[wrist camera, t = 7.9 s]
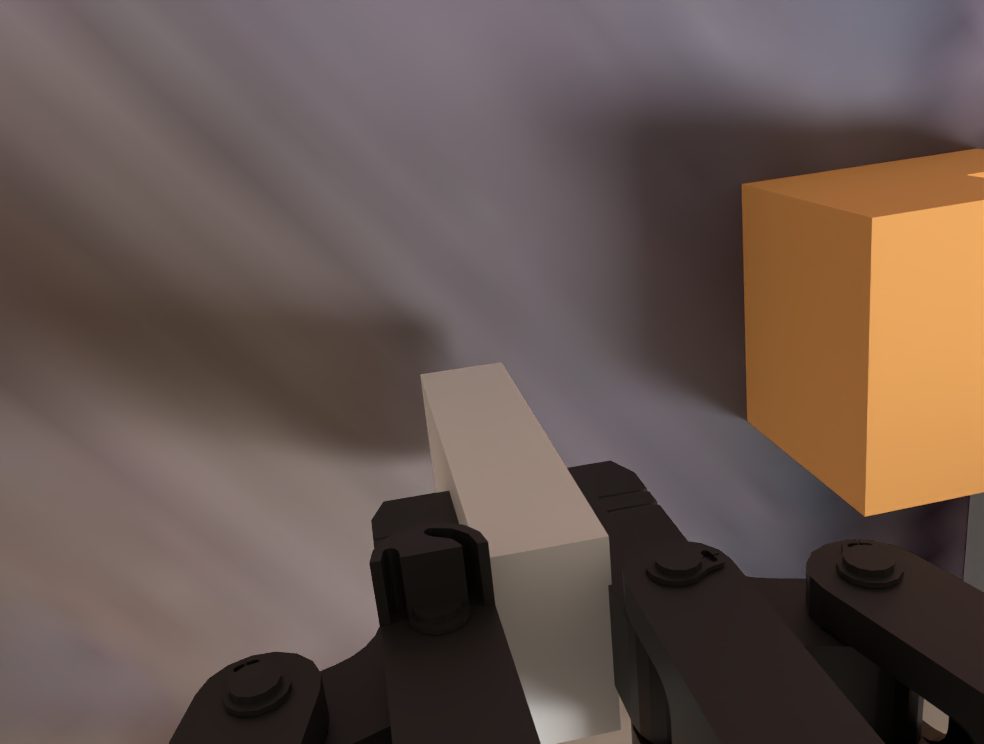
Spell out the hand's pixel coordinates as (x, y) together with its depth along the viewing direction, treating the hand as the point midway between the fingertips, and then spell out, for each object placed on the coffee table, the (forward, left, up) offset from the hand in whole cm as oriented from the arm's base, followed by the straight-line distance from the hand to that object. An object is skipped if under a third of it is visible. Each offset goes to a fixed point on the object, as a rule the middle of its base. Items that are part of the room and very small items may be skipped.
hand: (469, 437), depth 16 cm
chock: (+9, +1, -2) cm, 9 cm away
